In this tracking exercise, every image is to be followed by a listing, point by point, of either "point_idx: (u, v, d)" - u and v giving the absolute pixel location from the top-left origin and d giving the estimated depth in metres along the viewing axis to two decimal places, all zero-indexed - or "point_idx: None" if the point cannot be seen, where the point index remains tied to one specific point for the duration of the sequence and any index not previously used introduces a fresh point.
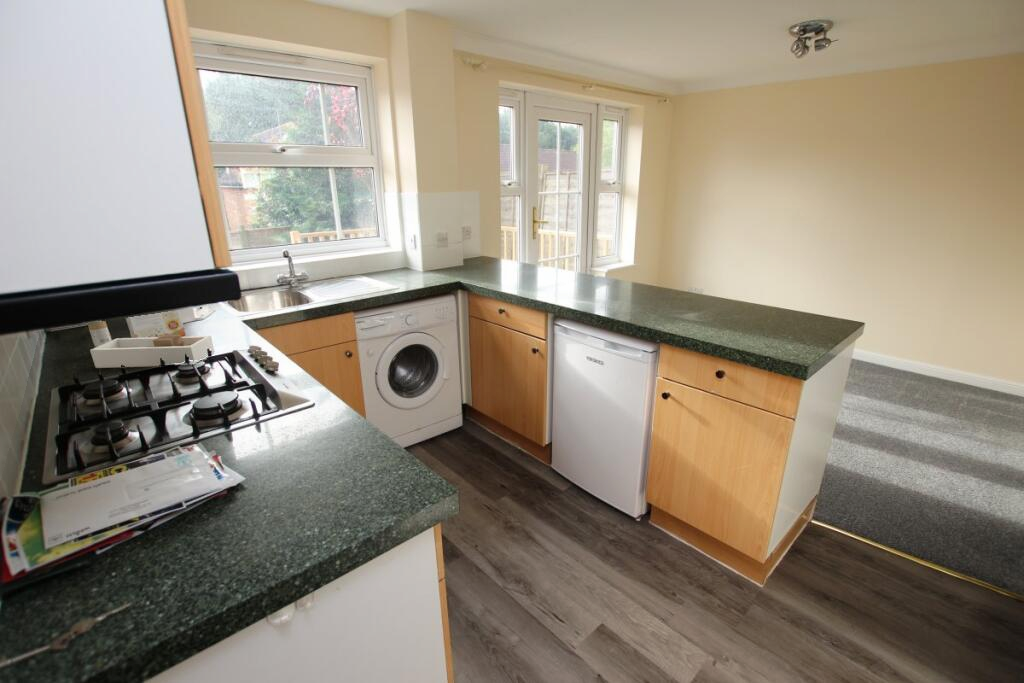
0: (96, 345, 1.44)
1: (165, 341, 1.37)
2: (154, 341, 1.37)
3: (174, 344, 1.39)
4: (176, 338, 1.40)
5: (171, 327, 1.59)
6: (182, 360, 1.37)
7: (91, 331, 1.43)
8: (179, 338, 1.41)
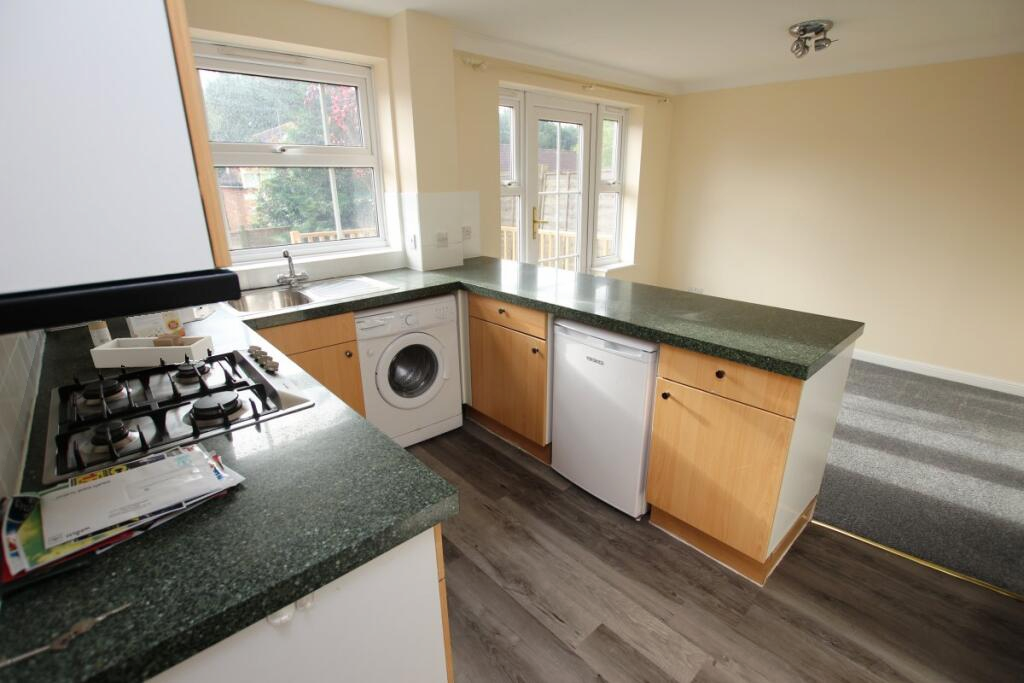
0: (96, 345, 1.44)
1: (165, 341, 1.37)
2: (154, 341, 1.37)
3: (174, 344, 1.39)
4: (176, 338, 1.40)
5: (170, 327, 1.59)
6: (182, 360, 1.37)
7: (91, 331, 1.43)
8: (179, 338, 1.41)
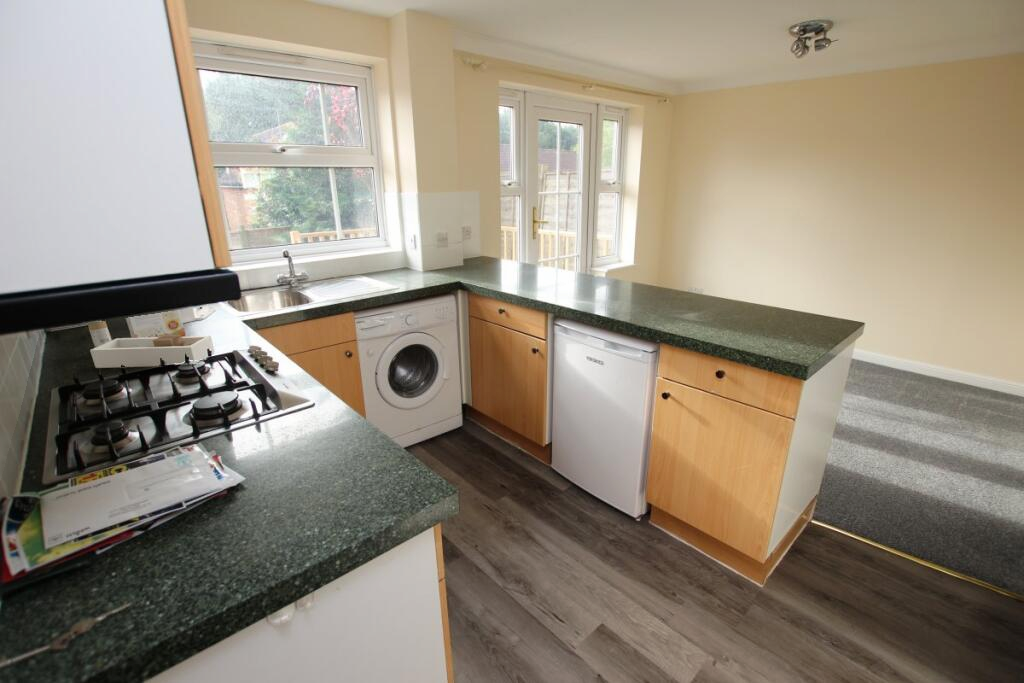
0: (96, 345, 1.44)
1: (165, 341, 1.37)
2: (154, 341, 1.37)
3: (174, 344, 1.39)
4: (176, 338, 1.40)
5: (170, 327, 1.59)
6: (182, 360, 1.37)
7: (91, 331, 1.43)
8: (179, 338, 1.41)
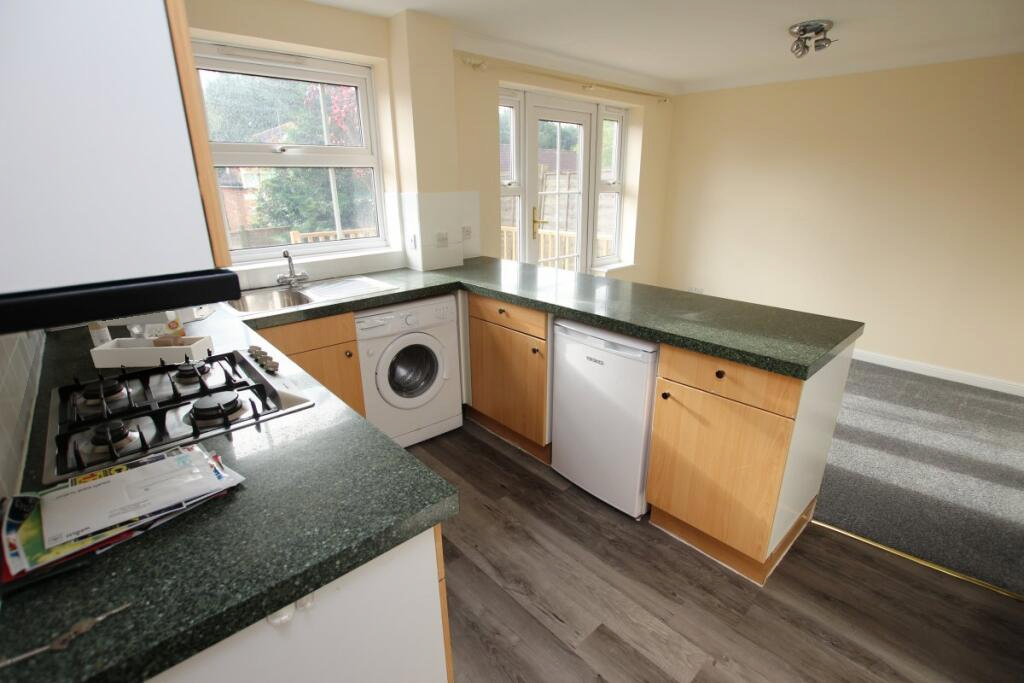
0: (96, 345, 1.44)
1: (165, 341, 1.37)
2: (154, 341, 1.37)
3: (174, 344, 1.39)
4: (176, 338, 1.40)
5: (171, 327, 1.59)
6: (182, 360, 1.37)
7: (91, 331, 1.43)
8: (179, 338, 1.41)
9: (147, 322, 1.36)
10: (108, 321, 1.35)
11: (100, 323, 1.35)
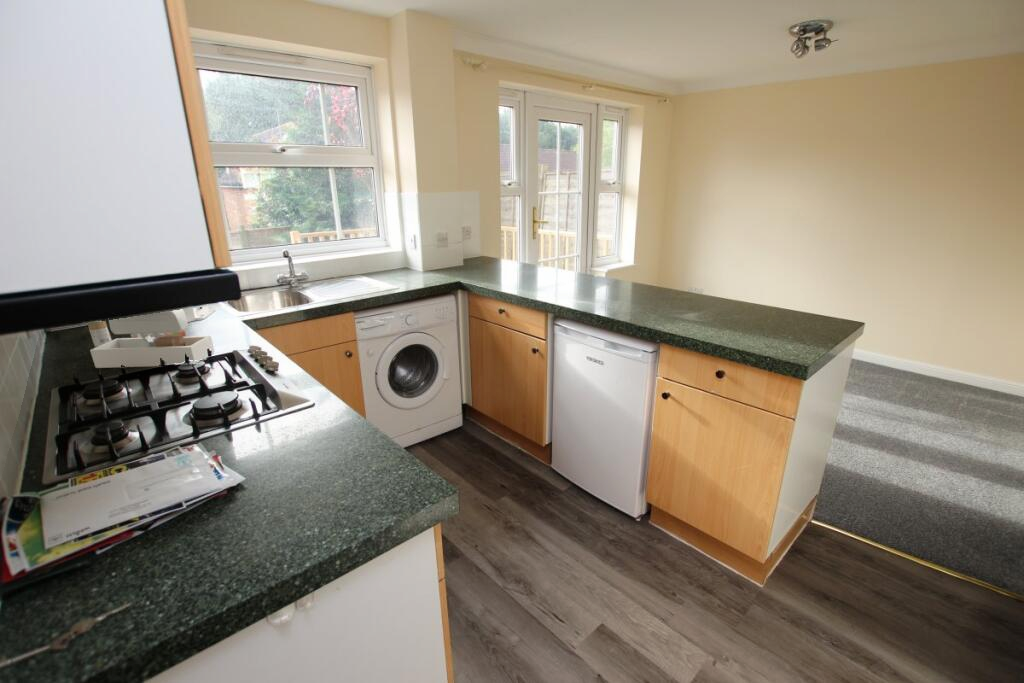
0: (96, 345, 1.44)
1: (167, 341, 1.37)
2: (156, 341, 1.37)
3: (176, 344, 1.39)
4: (178, 338, 1.40)
5: None
6: (182, 360, 1.37)
7: (91, 331, 1.43)
8: (181, 338, 1.41)
9: (160, 331, 1.37)
10: (122, 330, 1.36)
11: (114, 331, 1.36)
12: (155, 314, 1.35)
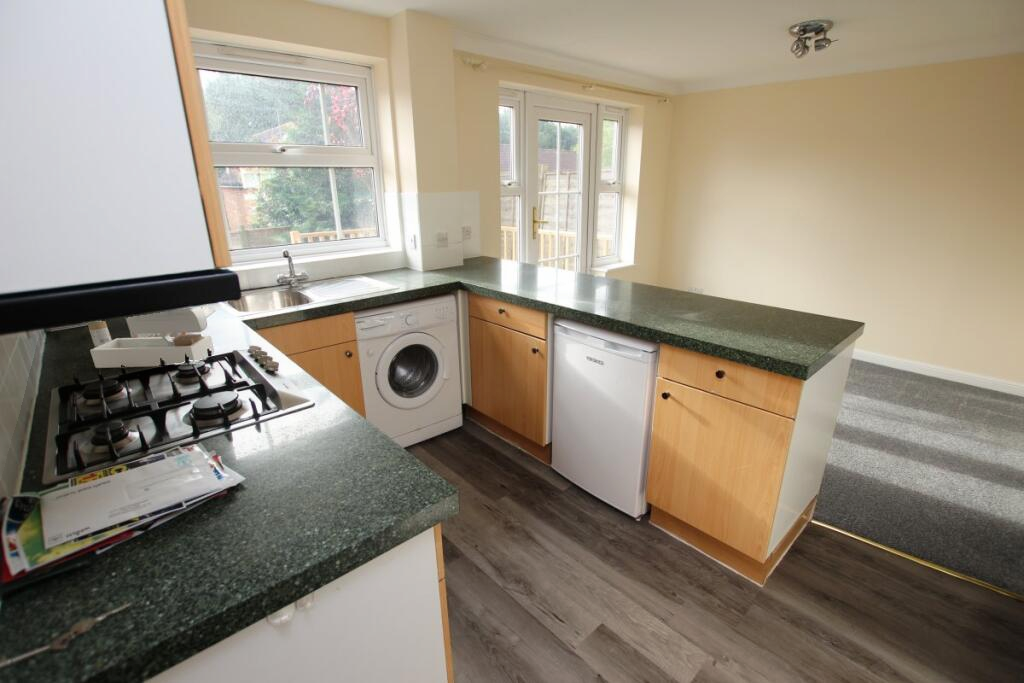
0: (96, 345, 1.44)
1: (186, 341, 1.37)
2: (175, 341, 1.37)
3: None
4: (196, 338, 1.40)
5: None
6: (182, 360, 1.37)
7: (91, 331, 1.43)
8: (199, 338, 1.41)
9: (180, 331, 1.37)
10: (142, 329, 1.36)
11: (134, 331, 1.36)
12: (175, 314, 1.35)
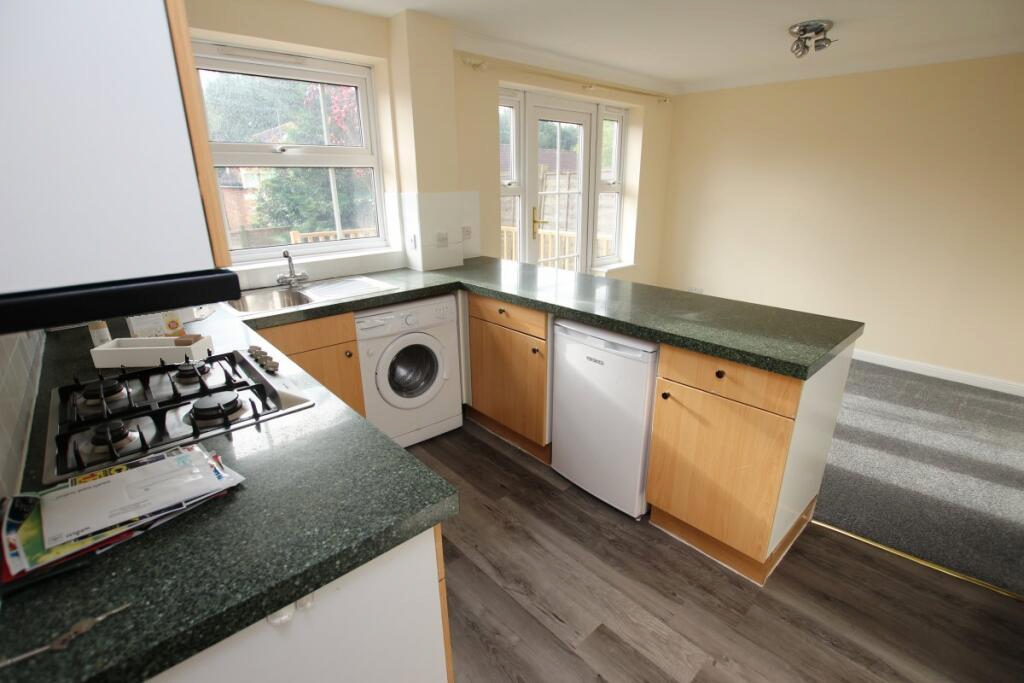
0: (96, 345, 1.44)
1: (186, 341, 1.37)
2: (175, 341, 1.37)
3: None
4: (196, 338, 1.40)
5: (170, 327, 1.59)
6: (182, 360, 1.37)
7: (91, 331, 1.43)
8: (199, 338, 1.41)
9: None
10: None
11: None
12: None
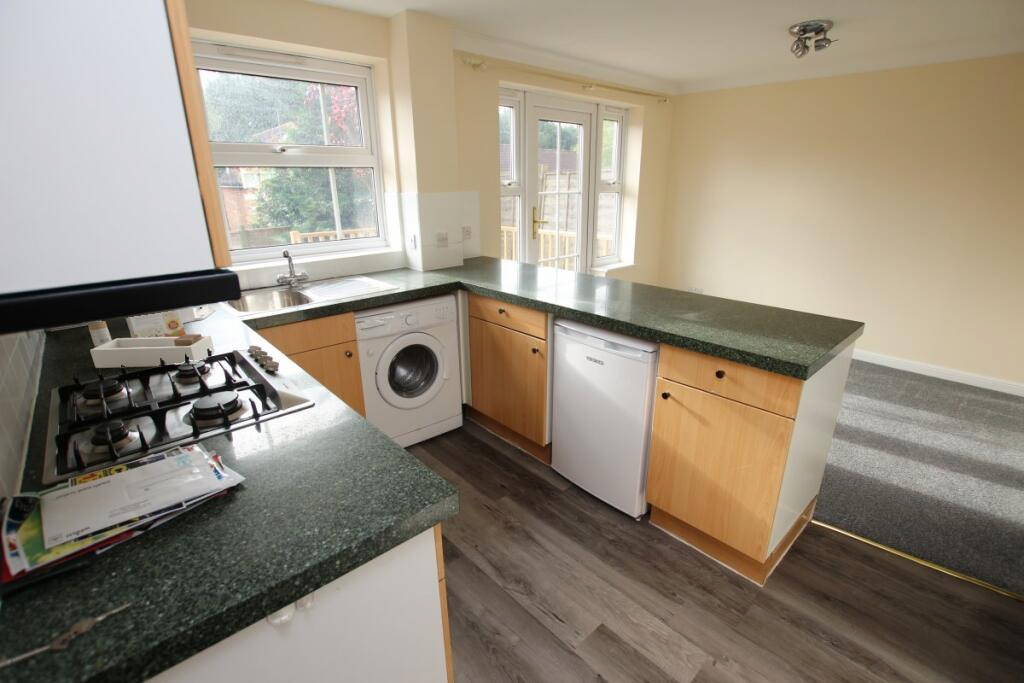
0: (96, 345, 1.44)
1: (186, 341, 1.37)
2: (175, 341, 1.37)
3: None
4: (196, 338, 1.40)
5: (171, 327, 1.59)
6: (182, 360, 1.37)
7: (91, 331, 1.43)
8: (199, 338, 1.41)
9: None
10: None
11: None
12: None
